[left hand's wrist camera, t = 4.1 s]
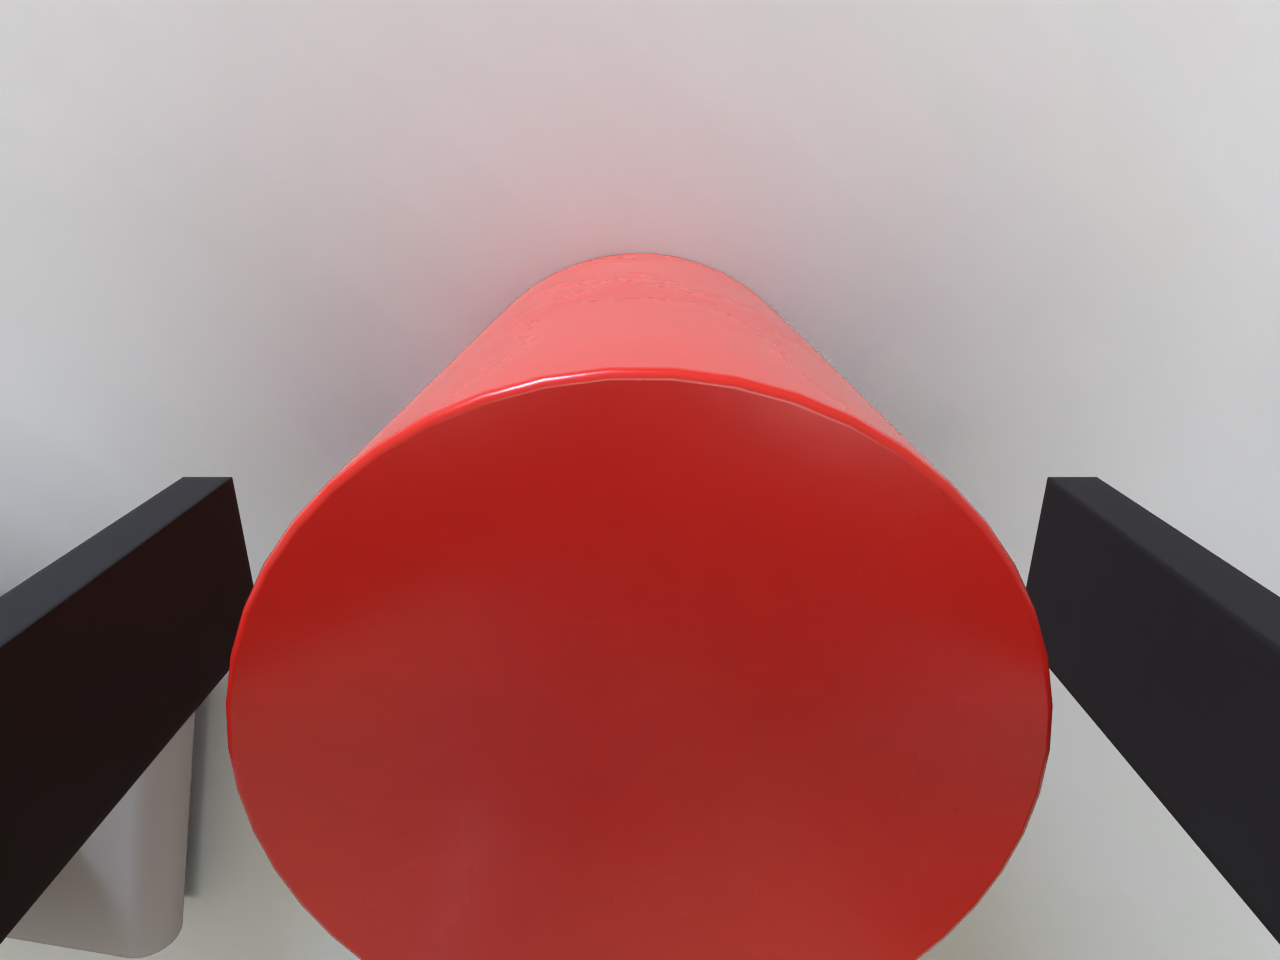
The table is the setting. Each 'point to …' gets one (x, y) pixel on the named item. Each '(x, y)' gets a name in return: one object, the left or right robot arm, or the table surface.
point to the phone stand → (125, 869)
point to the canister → (639, 654)
